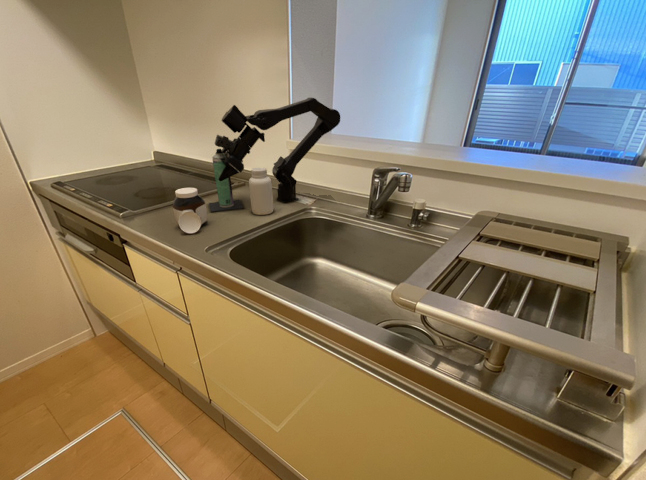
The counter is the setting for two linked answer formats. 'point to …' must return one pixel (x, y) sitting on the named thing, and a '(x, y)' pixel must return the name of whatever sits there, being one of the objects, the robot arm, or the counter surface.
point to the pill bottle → (261, 192)
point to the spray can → (224, 186)
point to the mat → (216, 208)
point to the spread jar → (189, 210)
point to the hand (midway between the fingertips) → (218, 177)
